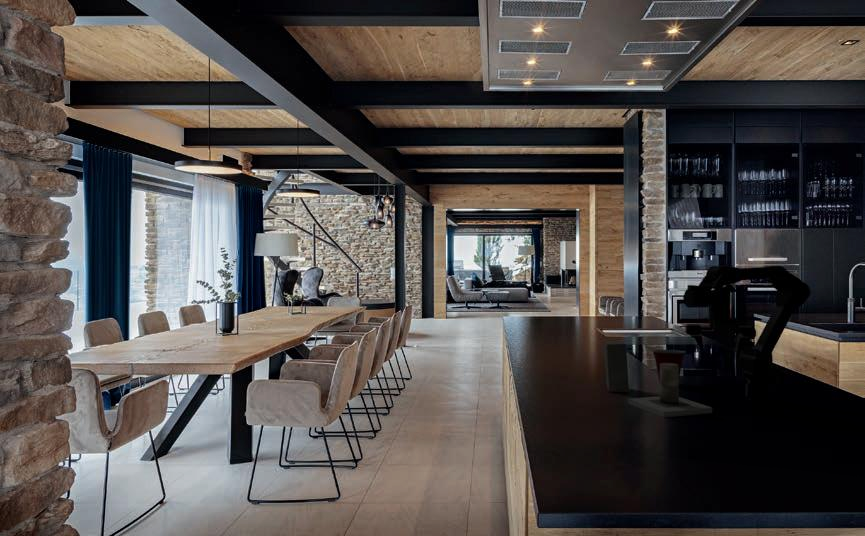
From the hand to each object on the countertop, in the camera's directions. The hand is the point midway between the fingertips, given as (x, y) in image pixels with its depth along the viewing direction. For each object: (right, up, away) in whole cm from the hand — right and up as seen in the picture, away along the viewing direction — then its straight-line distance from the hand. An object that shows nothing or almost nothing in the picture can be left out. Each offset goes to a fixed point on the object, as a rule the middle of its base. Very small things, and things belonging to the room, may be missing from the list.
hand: (719, 358), depth 177 cm
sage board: (-18, -13, -7) cm, 24 cm away
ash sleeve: (-18, -11, -7) cm, 23 cm away
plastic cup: (-5, -13, +26) cm, 30 cm away
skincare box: (-26, -13, +17) cm, 34 cm away
